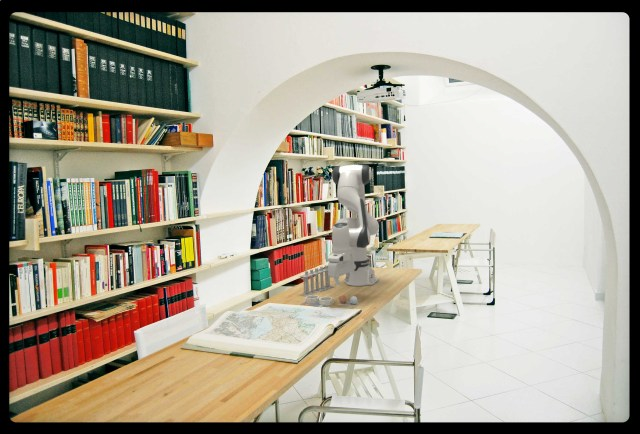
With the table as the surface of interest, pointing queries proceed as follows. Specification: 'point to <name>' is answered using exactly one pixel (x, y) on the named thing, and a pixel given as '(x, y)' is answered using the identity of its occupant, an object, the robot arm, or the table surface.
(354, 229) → the robot arm
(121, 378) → the table surface
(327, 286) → the test tube rack
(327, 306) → the card
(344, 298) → the ball terracotta
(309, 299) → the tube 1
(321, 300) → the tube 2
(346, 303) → the grey mat
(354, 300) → the ball bluegrey
